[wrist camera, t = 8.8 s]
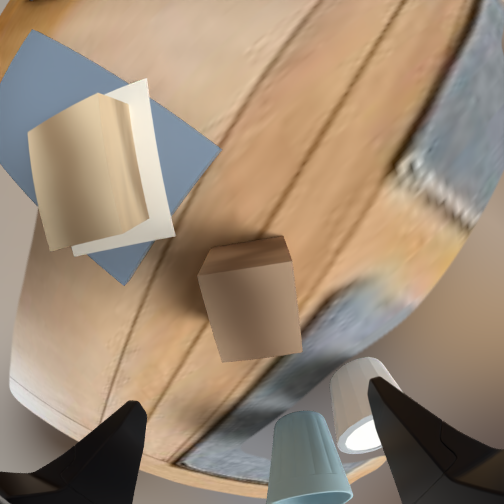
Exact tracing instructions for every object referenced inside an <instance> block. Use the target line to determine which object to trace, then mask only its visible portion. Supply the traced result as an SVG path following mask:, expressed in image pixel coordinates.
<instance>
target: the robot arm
mask: <svg viewBox="0 0 504 504" xmlns="http://www.w3.org/2000/svg"><path fill="white" fill-rule="evenodd" d="M367 396H368V400H369V404H370V408H371V412H372V416H373V420H374V424H375V428H376V431H377V434H378V437H379V440H380V442H381V445H382V447H383V450H384V453H385V456H386V458H387V461H388V464H389V466H390V469H391V472H392V475H393V478H394V480H395V483H396V486H397V489H398V492H399V495H400V498H401V501H402V504H504V449H496V448H492V447H490V446H488V445H485V444H483V443H481V442H479V441H477V440H475V439H473V438H471V437H469V436H467V435H465V434H463V433H461V432H460V431H458V430H456V429H455V428H453V427H452V426H450V425H448V424H447V423H446V422H444V421H442V420H441V419H440V418H438V417H437V416H435V415H434V414H432V413H431V412H430V411H428V410H427V409H425V408H424V407H423V406H421V405H420V404H418V403H417V402H415V401H414V400H413V399H411V398H410V397H408V396H407V395H406V394H404V393H403V392H402V391H400V390H399V389H397V388H396V387H395V386H393V385H392V384H390V383H389V382H388V381H386V380H385V379H384V378H382V377H380V376H378V377H374V378H371V379H370V380H369V385H368V392H367ZM146 423H147V414H146V412H145V410H144V409H143V407H142V406H141V404H140V403H139V402H138V401H133V400H130V401H128V402H126V403H125V404H124V405H123V406H122V407H121V408H119V409H118V410H117V411H116V412H115V413H113V414H112V415H111V416H110V417H109V418H107V419H106V420H105V421H104V422H103V423H101V424H100V425H99V426H98V427H97V428H95V429H94V430H93V431H92V432H90V433H89V434H88V435H87V436H86V437H84V438H83V439H82V440H81V441H79V442H78V443H77V444H76V445H75V446H73V447H72V448H71V449H69V450H68V451H67V452H65V453H64V454H63V455H61V456H60V457H58V458H57V459H55V460H54V461H52V462H50V463H49V464H47V465H46V466H44V467H42V468H41V469H39V470H37V471H35V472H33V473H10V472H0V504H132V502H133V496H134V490H135V486H136V481H137V476H138V471H139V467H140V462H141V457H142V453H143V448H144V441H145V432H146Z"/></svg>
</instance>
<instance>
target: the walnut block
mask: <svg viewBox="0 0 504 504" xmlns="http://www.w3.org/2000/svg"><path fill="white" fill-rule="evenodd" d="M197 278H198V282H199V286H200V289H201V293H202V297H203V300H204V304H205V307H206V311H207V314H208V318H209V321H210V325H211V328H212V331H213V335H214V338H215V341H216V344H217V348H218V351H219V354H220V357H221V360H222V362H233V361H242V360H251V359H259V358H267V357H274V356H281V355H288V354H294V353H300V352H303V351H302V341H301V331H300V322H299V312H298V304H297V295H296V287H295V279H294V271H293V263H292V259H291V256H290V253H289V250H288V248H287V245H286V242H285V239H284V237H283V236H280V237H274V238H268V239H261V240H255V241H249V242H243V243H237V244H231V245H225V246H219V247H213V248H211V249H210V251H209V253H208V255H207V257H206V259H205V261H204V263H203V265H202V267H201V269H200V271H199V273H198V275H197Z"/></svg>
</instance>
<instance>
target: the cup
mask: <svg viewBox="0 0 504 504" xmlns="http://www.w3.org/2000/svg"><path fill="white" fill-rule="evenodd" d="M352 497H353V493H352V490H351V487H350V485H349V482H348V479H347V477H346V474H345V472H344V469H343V466H342V463H341V461H340V458H339V455H338V453H337V450H336V447H335V445H334V442H333V440H332V437H331V434H330V432H329V429H328V426H327V424H326V421H325V419H324V417H323V416H322V415H321V414H319V413H317V412H313V411H299V412H294V413H290V414H287V415H285V416H283V417H282V418H280V419H279V420H278V421H277V423H276V424H275V428H274V437H273V448H272V458H271V467H270V476H269V485H268V493H267V501H266V504H344V503H346V502H348V501H349V500H350V499H351V498H352Z"/></svg>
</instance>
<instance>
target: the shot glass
mask: <svg viewBox="0 0 504 504" xmlns="http://www.w3.org/2000/svg"><path fill="white" fill-rule="evenodd" d="M378 376H380V377H382V378H384V379H385V380H386V381H388V382H389V383H390V384H392V385H393V386H395V387H396V388H397V389H399V390H400V391H402V390H401V389H400V387H399V386H398V385H397V383H396V382H395V380H394V379H393V378H392V376H391V375H390V373H389V372H388V370H387V369H386V368H385V366H384V365H383V364H382V363H381V362H380V361H379V360H378V359H376V358H371V357H364V358H358V359H355V360H353V361H350V362H348V363H346V364H344V365H343V366H342V367H341V368H339V369H338V370H337V371H336V372H335V374H334V375H333V377H332V378H331V380H330V394H331V401H332V408H333V415H334V424H335V431H336V440H337V446H338V448H339V449H340V450H341V451H342V452H345V453H348V454H362V453H366V452H370V451H374V450H377V449H379V448H382V445H381V442H380V440H379V437H378V434H377V431H376V428H375V424H374V420H373V416H372V412H371V408H370V404H369V400H368V396H367V392H368V385H369V380H370V379H371V378H374V377H378Z"/></svg>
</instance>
